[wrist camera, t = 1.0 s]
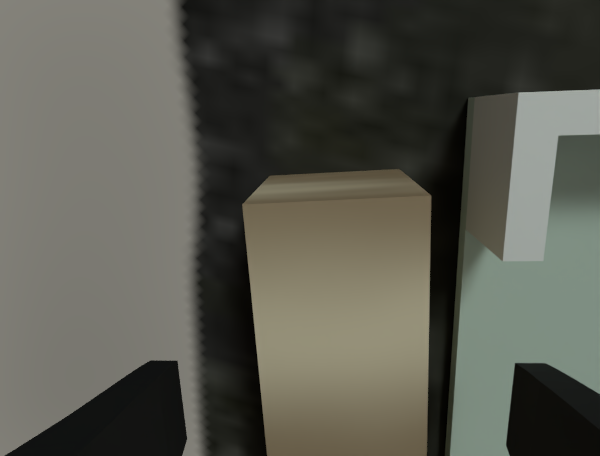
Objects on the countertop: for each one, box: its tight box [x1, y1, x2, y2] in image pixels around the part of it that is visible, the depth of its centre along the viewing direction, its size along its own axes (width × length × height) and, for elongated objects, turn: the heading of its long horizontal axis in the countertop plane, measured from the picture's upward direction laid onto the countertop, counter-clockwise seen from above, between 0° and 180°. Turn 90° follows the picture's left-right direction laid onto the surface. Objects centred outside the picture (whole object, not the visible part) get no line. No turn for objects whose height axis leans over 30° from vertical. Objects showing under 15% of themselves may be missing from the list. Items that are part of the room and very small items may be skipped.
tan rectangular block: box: [242, 169, 431, 456], centre depth 11 cm, size 12×4×4 cm, turn 3°
